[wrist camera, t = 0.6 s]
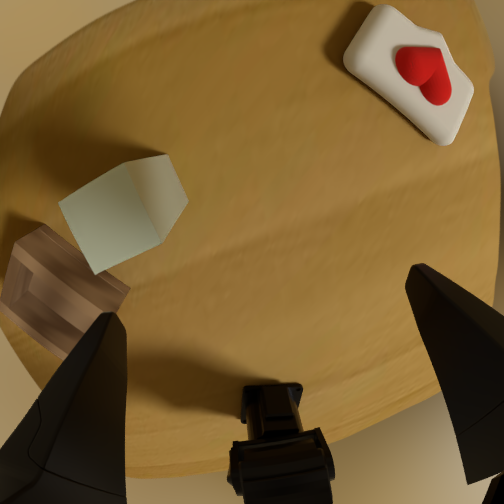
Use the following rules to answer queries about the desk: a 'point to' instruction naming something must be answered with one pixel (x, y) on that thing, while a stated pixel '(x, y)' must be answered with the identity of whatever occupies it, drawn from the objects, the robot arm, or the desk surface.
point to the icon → (411, 72)
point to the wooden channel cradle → (55, 291)
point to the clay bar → (125, 211)
